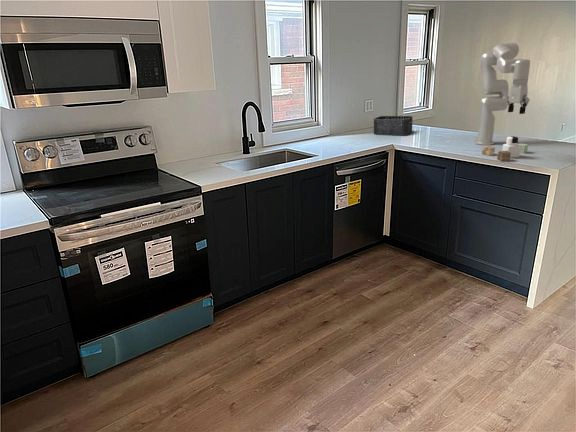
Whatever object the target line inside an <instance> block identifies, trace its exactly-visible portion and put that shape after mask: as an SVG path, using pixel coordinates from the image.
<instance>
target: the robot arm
mask: <svg viewBox="0 0 576 432" xmlns="http://www.w3.org/2000/svg"><path fill="white" fill-rule="evenodd" d="M519 52H520V48H519V44H517V43H516V42H507V43H498V44H497V45H495V46H494V47H493V49H492V51H487V52H484V53H483V54H482V55H481V58H480V64H479V65H480V69H481V73H482V81H481V82H482V83H481V88H482V90H481V91H482V94H484V95H485V97H482V98H481V99H480V101H479V119H478V130H477V131H478V132H477V136H475V139H476V140H475V141H474V144H475V145H480V146H493V145H495V141H494V140H493V137H494V131H495V120H496V117H495V115H494V113H493V112H499V111H501V112H502V111H506V109H507V108H508V109H507V113H513V112H514V109H515V108H514V107H515V104H520V107H519V115H523V114H524V115H525V113H526V107H527V106H528V104H529V102H530V98H529V97H528V90H529V89H528V82H529V75H530V67H531V60H530V59H525V58H516V57H517V56H518V54H519ZM493 66H496V68H497V70H498V71H499V72H500V73H502V74H513V77H512V78H513V79H512V85H511V86H510V90H509V83H508V81H507V79H497V71H496V69H495V68H494V67H493ZM486 95H487V96H486ZM490 95H492V96H490ZM493 95H497V96H493Z"/></svg>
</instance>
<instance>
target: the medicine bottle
mask: <svg viewBox="0 0 576 432" xmlns="http://www.w3.org/2000/svg"><path fill="white" fill-rule="evenodd" d="M518 142H519V137H518V136H512V135H511V136H507V137H506V143H503V144H502V150H501V151H508V152H511V155H510V159H511V158H512V159H513V158H515V159H516V158H520V154H521V153H520V145H517V144H519V143H518Z"/></svg>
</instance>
